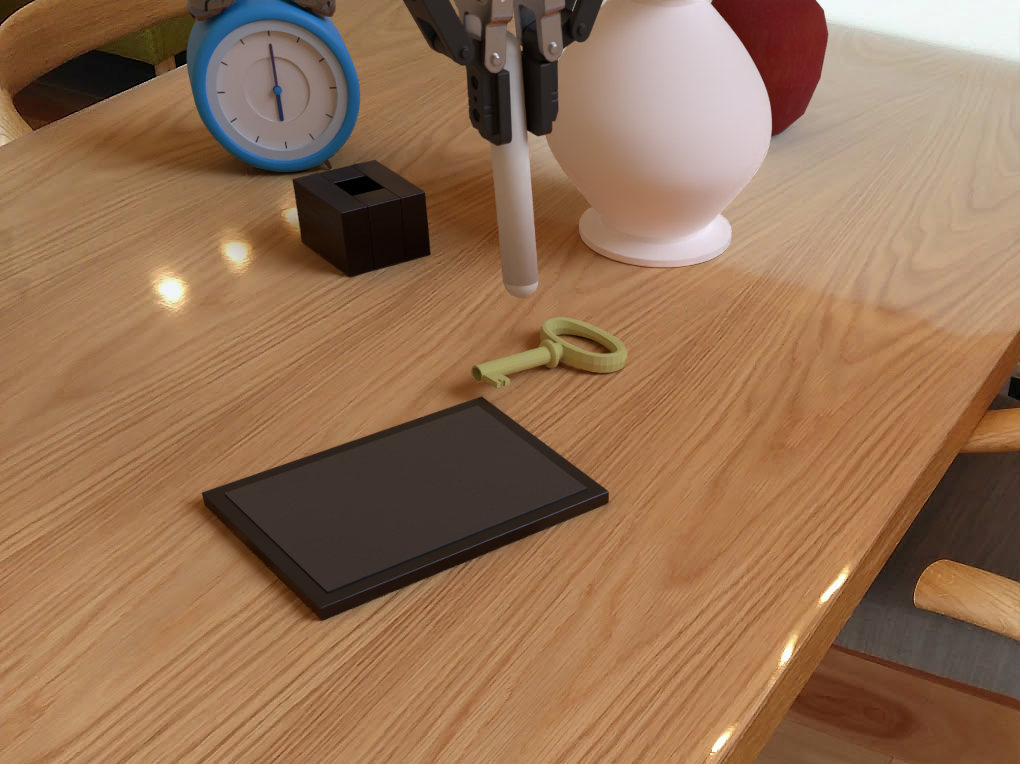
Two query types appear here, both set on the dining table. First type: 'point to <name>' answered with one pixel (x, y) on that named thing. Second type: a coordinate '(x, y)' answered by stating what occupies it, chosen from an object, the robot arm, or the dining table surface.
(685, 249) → the decorative vase
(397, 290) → the dining table surface
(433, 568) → the tablet
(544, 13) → the robot arm
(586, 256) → the dining table surface
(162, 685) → the dining table surface
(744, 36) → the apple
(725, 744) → the dining table surface
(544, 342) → the key
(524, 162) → the stylus
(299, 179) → the holder
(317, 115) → the alarm clock
